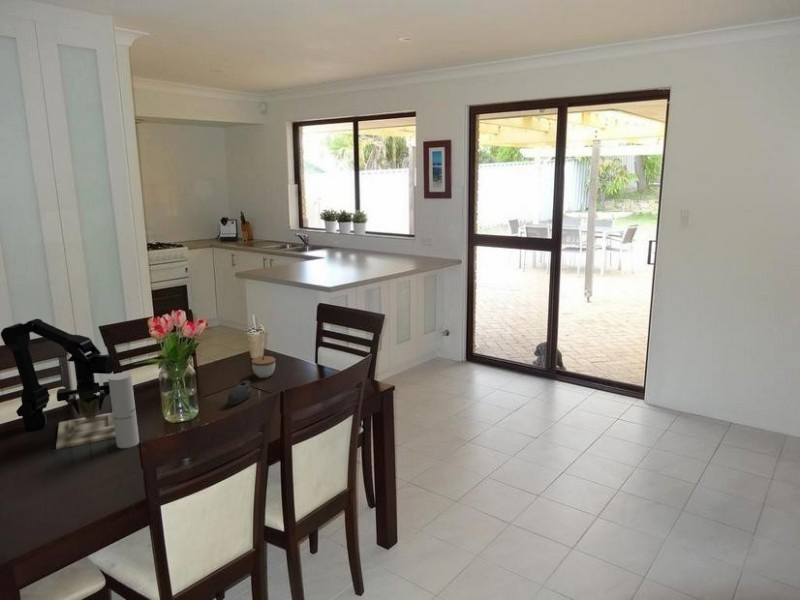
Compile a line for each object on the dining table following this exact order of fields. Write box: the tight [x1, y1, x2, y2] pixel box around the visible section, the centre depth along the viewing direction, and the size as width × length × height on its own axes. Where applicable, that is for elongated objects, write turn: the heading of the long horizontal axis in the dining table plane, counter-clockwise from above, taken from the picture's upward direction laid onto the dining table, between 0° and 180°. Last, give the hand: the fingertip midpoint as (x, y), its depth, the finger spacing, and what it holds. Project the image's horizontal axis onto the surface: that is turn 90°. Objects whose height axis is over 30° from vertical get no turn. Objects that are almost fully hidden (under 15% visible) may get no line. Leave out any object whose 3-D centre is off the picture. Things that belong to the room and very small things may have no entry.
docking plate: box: [55, 412, 116, 450], centre depth 209 cm, size 22×22×2 cm
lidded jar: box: [251, 355, 276, 379], centre depth 263 cm, size 11×11×9 cm
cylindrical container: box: [107, 372, 140, 449], centre depth 196 cm, size 7×7×25 cm
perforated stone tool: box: [227, 379, 252, 406], centre depth 234 cm, size 15×5×7 cm, turn 160°
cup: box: [76, 393, 100, 419], centre depth 207 cm, size 8×7×8 cm
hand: (89, 412), depth 207 cm, fingers closed on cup, 6 cm apart
